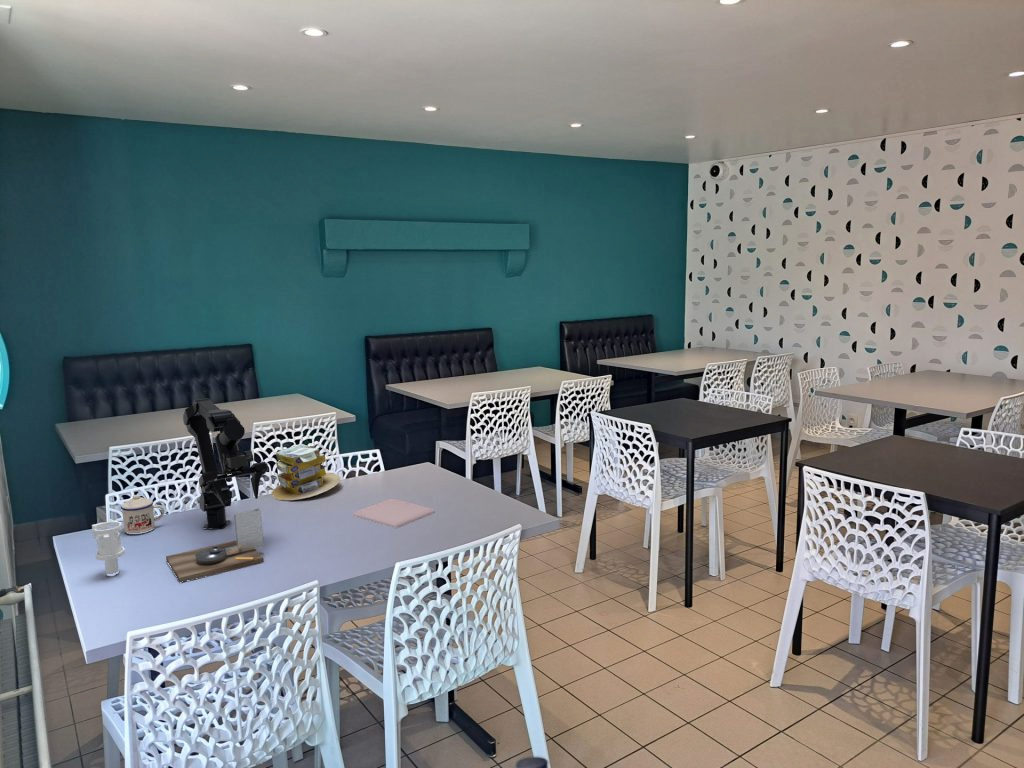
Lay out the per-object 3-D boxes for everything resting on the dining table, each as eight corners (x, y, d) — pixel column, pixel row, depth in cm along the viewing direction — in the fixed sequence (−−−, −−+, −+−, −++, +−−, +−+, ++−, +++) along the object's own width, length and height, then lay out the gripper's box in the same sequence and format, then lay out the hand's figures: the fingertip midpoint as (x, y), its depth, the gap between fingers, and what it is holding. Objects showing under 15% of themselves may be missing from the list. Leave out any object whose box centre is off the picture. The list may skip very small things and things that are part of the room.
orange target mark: (234, 560, 205) (234, 558, 205) (236, 558, 207) (236, 557, 206) (252, 560, 205) (251, 559, 205) (253, 558, 206) (253, 557, 206)
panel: (376, 498, 264) (375, 491, 263) (445, 516, 244) (444, 509, 243) (294, 527, 236) (293, 520, 236) (364, 550, 216) (364, 542, 216)
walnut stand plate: (166, 561, 209) (165, 556, 209) (245, 543, 222) (245, 538, 221) (180, 583, 195) (179, 577, 194) (263, 562, 207) (263, 557, 207)
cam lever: (199, 566, 200) (196, 527, 198) (192, 557, 206) (189, 519, 205) (267, 550, 210) (264, 513, 208) (258, 542, 217) (255, 505, 215)
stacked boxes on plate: (277, 506, 255) (273, 459, 252) (266, 486, 277) (263, 443, 274) (347, 495, 266) (345, 450, 263) (332, 477, 288) (329, 435, 285)
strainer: (94, 574, 201) (88, 522, 199) (122, 566, 206) (116, 515, 203) (102, 582, 196) (96, 528, 194) (130, 573, 201) (125, 521, 198)
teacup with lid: (125, 538, 227) (121, 502, 226) (122, 529, 235) (118, 494, 233) (167, 530, 234) (163, 494, 232) (163, 521, 241) (160, 487, 239)
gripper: (201, 448, 205) (213, 501, 202) (267, 437, 217) (280, 487, 213) (193, 460, 214) (205, 511, 210) (257, 449, 225) (269, 498, 221)
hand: (240, 501), depth 213 cm, fingers open, 9 cm apart
